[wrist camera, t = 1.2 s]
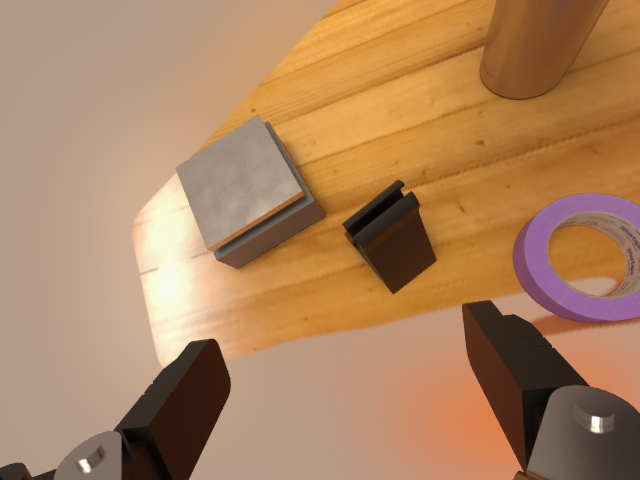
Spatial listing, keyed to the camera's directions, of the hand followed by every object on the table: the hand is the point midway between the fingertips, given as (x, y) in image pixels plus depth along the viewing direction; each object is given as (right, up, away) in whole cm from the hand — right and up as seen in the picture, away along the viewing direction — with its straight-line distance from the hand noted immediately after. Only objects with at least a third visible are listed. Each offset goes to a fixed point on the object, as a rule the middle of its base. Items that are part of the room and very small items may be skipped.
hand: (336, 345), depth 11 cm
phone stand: (+7, +2, +28) cm, 29 cm away
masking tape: (+25, +1, +22) cm, 34 cm away
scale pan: (-10, +10, +28) cm, 31 cm away
